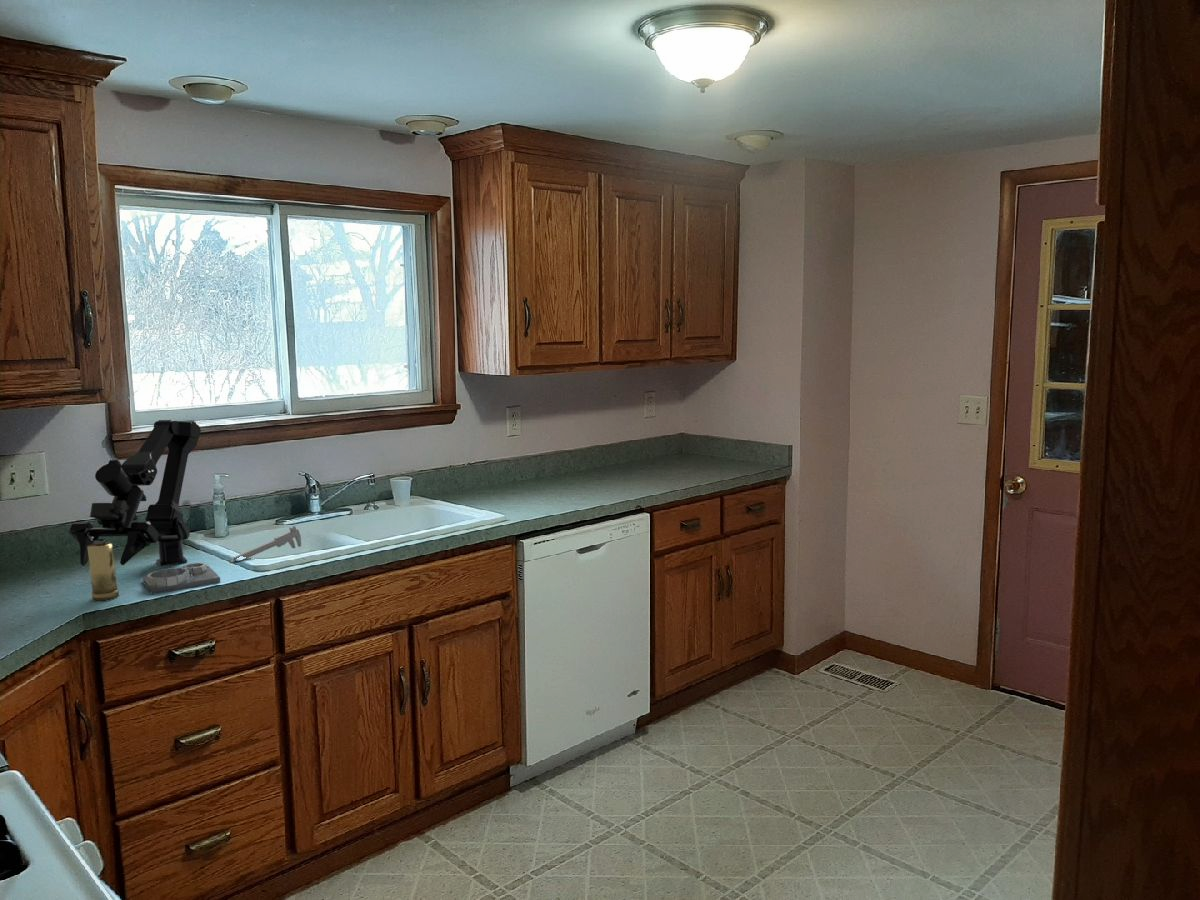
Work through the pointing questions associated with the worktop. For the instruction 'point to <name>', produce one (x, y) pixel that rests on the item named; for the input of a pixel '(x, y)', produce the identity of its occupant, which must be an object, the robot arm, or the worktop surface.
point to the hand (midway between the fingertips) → (101, 564)
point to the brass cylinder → (102, 570)
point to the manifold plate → (189, 583)
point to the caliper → (274, 543)
